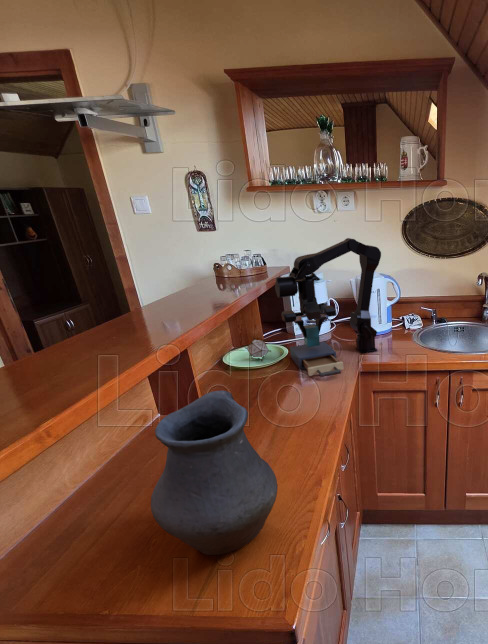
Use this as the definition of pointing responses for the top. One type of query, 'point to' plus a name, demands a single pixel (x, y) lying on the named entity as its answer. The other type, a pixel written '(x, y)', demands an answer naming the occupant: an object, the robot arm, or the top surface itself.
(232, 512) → the dark grey clay pot
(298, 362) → the cabinet
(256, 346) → the game die
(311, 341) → the block
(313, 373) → the drawer
